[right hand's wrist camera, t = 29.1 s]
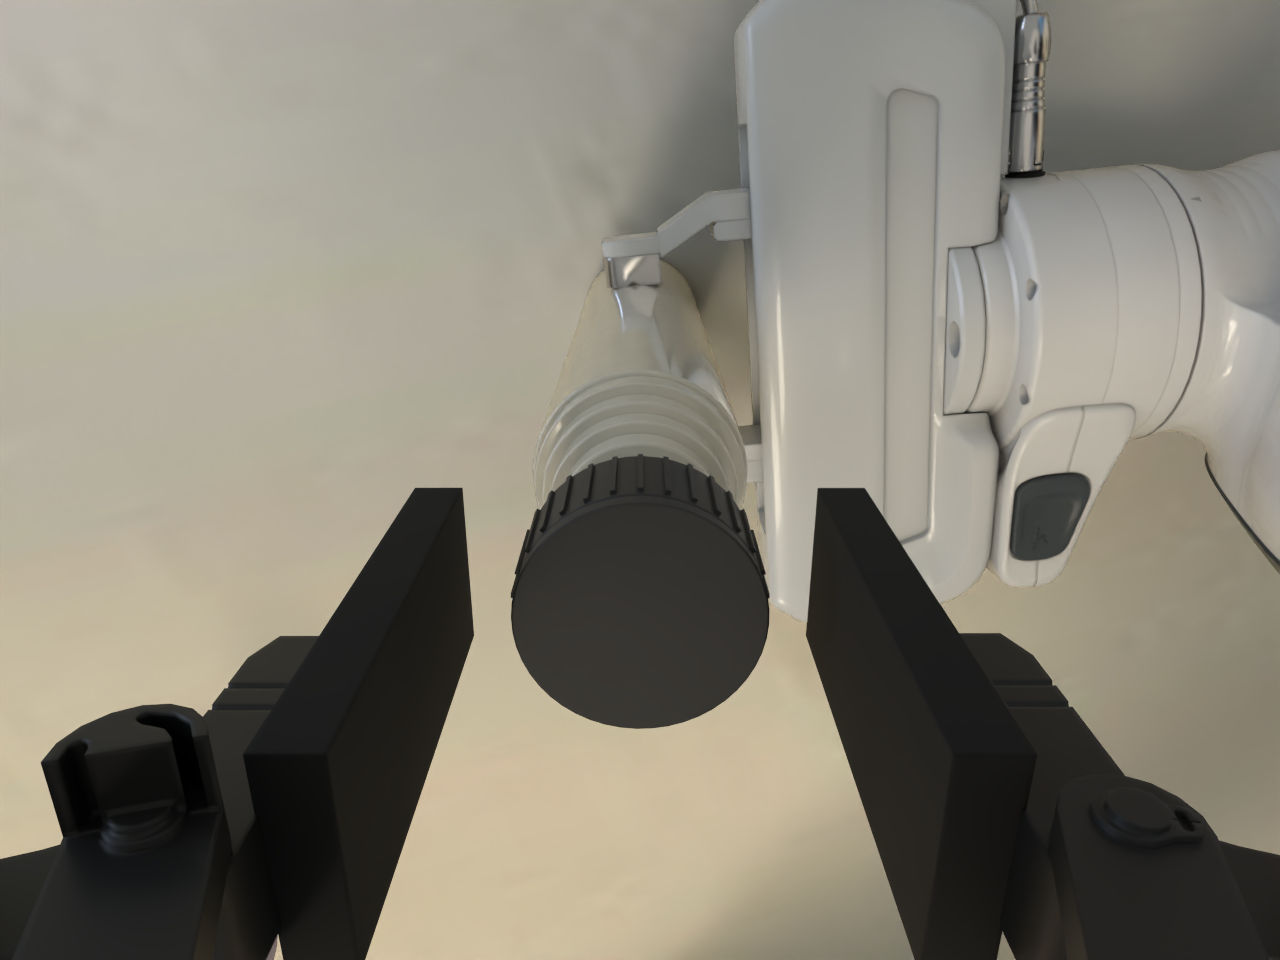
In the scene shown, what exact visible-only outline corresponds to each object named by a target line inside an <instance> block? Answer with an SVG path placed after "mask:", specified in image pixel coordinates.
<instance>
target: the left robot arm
mask: <svg viewBox="0 0 1280 960" xmlns="http://www.w3.org/2000/svg"><path fill="white" fill-rule="evenodd" d="M1020 2H1021V5H1022V10H1023V15H1021V16H1017V17H1016V9H1017V0H760V1H759V2H758V3H757V4H756V5H755V6H754V7H753V8H752V9H751V10H750V11H749V13H748V14H747V15H746V17H745V18H744V19H743V21H742V22H741V24H740V25H739V27H738V29H737V31H736V33H735V37H734V55H735V75H736V96H737V116H738V136H739V156H740V177H741V188H739V189H729V190H720V191H710V192H705V193H704V194H702V195H701V196H700V197H698V198H697V199H696V200H694V201H693V202H692V203H690V204H689V205H687V206H686V207H685V208H683V209H682V210H681V211H679V212H678V213H677V214H675V215H674V216H673V217H671V218H670V219H668V220H667V221H666V222H664V223H663V224H662V225H660V226H659V227H658V228H657V232H649V233H638V234H628V235H618V236H612V237H607V238H603V240H602V249H603V260H604V268H605V276H606V284H607V288H623V287H628V286H629V285H630V284H631V283H633V282H635V283H637V284H638V285H645V286H647V285H657V284H661V269H660V257H661V258H662V257H664V256H665V255H667V254H668V253H669V252H671V251H672V250H674V249H675V248H677V247H678V246H679V245H681V244H682V243H684V242H685V241H686V240H688V239H689V238H691V237H692V236H694V235H695V234H696V233H698V232H699V231H701V230H702V229H703V228H705V227H706V226H708V225H709V231H710V233H711V234H712V235H713V237H714V238H715V239H716V240H717V241H728V240H741V239H744V258H745V278H746V298H747V318H748V339H749V359H750V379H751V399H752V420H753V425H748V426H738V428H739V431H740V434H741V437H742V440H743V443H744V447H745V451H746V458H747V482H746V483H755V482H756V501H757V521H758V541H759V552H760V555H761V559H762V562H763V565H764V569H765V572H766V575H764V576H765V580H766V583H767V587H768V590H769V594H770V598H768V599H769V601H770V603H771V605H772V606H773V607H775V608H776V609H778V610H779V611H781V612H783V613H784V614H786V615H788V616H790V617H792V618H793V619H795V620H798V621H801V622H807V617H808V604H809V592H810V579H811V566H812V553H813V541H814V528H815V515H816V502H817V490H818V488H865V489H866V491H867V492H868V494H869V495H870V497H871V498H872V500H873V501H874V503H875V504H876V506H877V508H878V509H879V511H880V512H881V514H882V515H883V517H884V518H885V520H886V521H887V523H888V525H889V526H890V528H891V529H892V531H893V532H894V534H895V535H896V537H897V538H898V540H899V542H900V543H901V545H902V546H903V548H904V549H905V551H906V552H907V554H908V555H909V557H910V558H911V560H912V562H913V563H914V565H915V566H916V568H917V569H918V571H919V572H920V574H921V575H922V577H923V579H924V580H925V582H926V583H927V585H928V586H929V588H930V589H931V591H932V592H933V594H934V596H935V597H936V599H937V600H938V602H939V603H940V604H942V603H945V602H948V601H950V600H952V599H955V598H956V597H958V596H960V595H962V594H963V593H965V592H966V591H968V590H969V589H970V588H971V587H972V586H973V585H974V584H975V583H976V582H977V581H978V580H979V579H980V577H981V576H982V574H983V572H984V571H985V568H987V569H988V570H989V571H990V572H991V573H993V574H994V575H995V576H996V577H997V578H998V579H999V580H1000V581H1002V582H1003V583H1004V584H1006V585H1008V586H1011V587H1021V588H1026V587H1038V586H1043V585H1046V584H1049V583H1051V582H1053V581H1054V580H1055V579H1056V578H1057V577H1058V576H1059V575H1060V574H1061V573H1062V571H1063V569H1064V568H1065V566H1066V564H1067V562H1068V560H1069V558H1070V555H1071V553H1072V551H1073V548H1074V546H1075V544H1076V541H1077V539H1078V537H1079V535H1080V532H1081V530H1082V528H1083V526H1084V523H1085V521H1086V519H1087V517H1088V515H1089V513H1090V511H1091V508H1092V506H1093V504H1094V502H1095V500H1096V498H1097V496H1098V494H1099V492H1100V490H1101V488H1102V486H1103V484H1104V482H1105V480H1106V478H1107V477H1108V475H1109V473H1110V471H1111V469H1112V467H1113V466H1114V464H1115V462H1116V461H1117V459H1118V457H1119V456H1120V454H1121V452H1122V451H1123V449H1124V447H1125V445H1126V444H1127V442H1128V440H1129V439H1138V438H1142V437H1146V436H1149V435H1154V434H1158V433H1163V432H1179V433H1183V434H1186V435H1189V436H1191V437H1193V438H1195V439H1196V440H1198V441H1199V442H1200V443H1201V444H1202V445H1203V446H1204V448H1205V449H1206V451H1207V453H1206V455H1205V465H1206V468H1207V471H1208V473H1209V475H1210V477H1211V479H1212V481H1213V482H1214V484H1215V486H1216V487H1217V489H1218V490H1219V492H1220V493H1221V495H1222V497H1223V498H1224V500H1225V501H1226V503H1227V504H1228V506H1229V507H1230V509H1231V510H1232V512H1233V513H1234V515H1235V516H1236V518H1237V519H1238V520H1239V522H1240V523H1241V524H1242V526H1243V527H1244V529H1245V530H1246V531H1247V533H1248V534H1249V536H1250V537H1251V538H1252V540H1253V541H1254V542H1255V544H1256V545H1257V546H1258V547H1259V549H1260V550H1261V551H1262V553H1263V554H1264V555H1265V557H1266V558H1267V559H1268V560H1269V562H1270V563H1271V564H1272V565H1273V567H1274V568H1275V569H1276V570H1277V571H1278V573H1279V574H1280V150H1276V151H1269V152H1264V153H1260V154H1256V155H1252V156H1249V157H1246V158H1243V159H1241V160H1238V161H1236V162H1233V163H1231V164H1228V165H1226V166H1223V167H1220V168H1216V169H1212V170H1202V171H1189V170H1183V169H1177V168H1173V167H1169V166H1165V165H1158V164H1131V165H1122V166H1112V167H1103V168H1092V169H1082V170H1072V171H1062V172H1048V173H1045V172H1042V170H1043V167H1042V166H1043V155H1044V135H1045V109H1044V107H1045V100H1044V99H1043V98H1044V90H1043V87H1044V84H1045V80H1043V78H1044V77H1045V67H1046V62H1047V61H1048V60H1049V55H1050V46H1051V27H1050V20H1049V15H1048V13H1038V4H1037V1H1036V0H1020ZM1004 174H1006V175H1005V177H1004V178H1001V175H1004Z"/></svg>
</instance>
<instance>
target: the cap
mask: <svg viewBox="0 0 1280 960" xmlns="http://www.w3.org/2000/svg"><path fill="white" fill-rule="evenodd" d="M515 574H516V578H515V581H514V585H513V588H512V592H511V598H513V600H512V610H511V621H512V631H513V636H514V640H515V644H516V647H517V650H518V652H519V654H520V657H521V659H522V661H523V663H524V665H525V666H526V668H527V670H528V671H529V673H530V675H531V676H532V677H533V678H534V680H535V681H536V682H537V684H538V685H539V686H540V687H541V688H542V689H543V690H544V691H545V692H546V693H547V694H548V695H549V696H550V697H552V698H553V699H554V700H556V701H557V702H558V703H560V704H561V705H562V706H564V707H566V708H567V709H569V710H571V711H572V712H574V713H576V714H578V715H580V716H583V717H585V718H587V719H590V720H593V721H596V722H599V723H602V724H606V725H611V726H616V727H623V728H636V729H639V728H657V727H664V726H670V725H674V724H678V723H682V722H685V721H688V720H690V719H693V718H696V717H698V716H700V715H702V714H704V713H706V712H708V711H710V710H712V709H713V708H715V707H716V706H718V705H719V704H721V703H722V702H724V701H725V700H726V699H728V698H729V697H730V696H731V695H732V694H733V693H734V692H736V691H737V690H738V688H739V687H740V686H741V685H742V684H743V683H744V682H745V681H746V679H747V678H748V677H749V675H750V674H751V672H752V671H753V669H754V668H755V666H756V664H757V662H758V660H759V658H760V656H761V654H762V651H763V648H764V645H765V642H766V639H767V633H768V627H769V604H768V598H770V594H769V590H768V587H767V583H766V580H765V576H764V575H766V572H765V569H764V565H763V562H762V559H761V555H760V552H759V548H758V545H757V541H756V538H755V534H754V531H753V530H750V527H749V523H748V519H747V516H746V513H745V511H744V509H742V510H740V509H739V508H738V506H737V504H736V503H735V501H734V499H733V496H732V493H731V492H730V491H727V492H726V491H725V490H724V489H723V488H722V487H721V486H720V485H719V484H717V483H716V482H715V479H714V477H713V476H711V475H709V477H708V476H707V475H705V474H704V473H702V472H700V471H698V470H696V469H694V468H693V465H691V464H689V463H688V464H687V465H685V464H682V463H679V462H676V461H673V460H669V457H666V456H663V458H659V457H649V456H643V454H638V456H631V457H622V458H618V457H617V456H615V457H612V459H611V460H608V461H604V462H601V463H598V464H595V465H594V464H593V463H591V464H589V465H588V468H586V469H584V470H582V471H581V472H579V473H577V474H576V475H574V476H571V475H569V476H568V477H567V478H566V482H564V483H563V484H562V485H561V486H559V487H558V488H557V490H556V491H555V492H554V491H552V490H551V491H550V492H549V494H548V498H547V501H546V502H545V504H544V505H543V506H542V508H541V510H539V509H537V510H536V512H535V514H534V518H533V521H532V525H531V529H530V530H527V533H526V536H525V540H524V543H523V547H522V550H521V553H520V557H519V560H518V564H517V567H516V571H515Z"/></svg>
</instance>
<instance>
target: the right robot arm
mask: <svg viewBox="0 0 1280 960" xmlns="http://www.w3.org/2000/svg"><path fill="white" fill-rule="evenodd" d="M473 637H474V630H473V617H472V604H471V592H470V579H469V566H468V553H467V541H466V528H465V515H464V502H463V490H462V488H415V489H414V491H413V492H412V494H411V495H410V497H409V498H408V500H407V501H406V503H405V504H404V506H403V508H402V509H401V511H400V512H399V514H398V515H397V517H396V518H395V520H394V521H393V523H392V525H391V526H390V528H389V529H388V531H387V532H386V534H385V535H384V537H383V538H382V540H381V542H380V543H379V545H378V546H377V548H376V549H375V551H374V552H373V554H372V555H371V557H370V558H369V560H368V562H367V563H366V565H365V566H364V568H363V569H362V571H361V572H360V574H359V575H358V577H357V579H356V580H355V582H354V583H353V585H352V586H351V588H350V589H349V591H348V592H347V594H346V596H345V597H344V599H343V600H342V602H341V603H340V605H339V606H338V608H337V609H336V611H335V613H334V614H333V616H332V617H331V619H330V620H329V622H328V623H327V625H326V626H325V628H324V630H323V631H322V633H321V634H320V636H280V637H278V638H277V639H275V640H274V641H272V642H271V643H269V644H268V645H266V646H265V647H263V648H262V649H260V650H259V651H257V652H256V653H254V654H253V655H251V656H250V657H248V658H247V660H246V661H245V662H244V664H243V665H242V666H241V668H240V669H239V670H238V671H237V673H236V674H235V675H234V677H233V678H232V679H231V681H230V682H229V683H228V684H229V686H228V688H225V689H224V690H223V691H222V693H221V694H220V695H219V697H218V698H217V699H216V700H215V702H214V703H213V704H212V710H208V711H207V712H206V714H205V715H204V716H203V717H202V716H201V715H200V714H198V713H197V712H196V711H195V710H194V709H192V708H187V707H183V706H178V705H173V704H159V705H142V706H138V707H134V708H130V709H126V710H122V711H118V712H114V713H110V714H108V715H106V716H104V717H101V718H99V719H97V720H94V721H92V722H90V723H88V724H85V725H83V726H81V727H79V728H78V729H77V730H75V731H74V732H72V733H71V734H69V735H68V736H66V737H65V738H64V739H62V740H61V741H59V742H58V743H56V744H55V746H54V747H53V748H52V749H51V751H50V752H49V753H48V754H47V755H46V757H45V758H44V759H43V760H42V762H41V765H42V768H43V771H44V775H45V778H46V781H47V785H48V788H49V791H50V795H51V798H52V801H53V805H54V808H55V811H56V815H57V818H58V821H59V825H60V828H61V831H62V835H63V840H62V842H61V844H60V845H57V846H54V847H50V848H47V849H43V850H39V851H35V852H30V853H26V854H21V855H17V856H12V857H8V858H3V859H0V960H266V959H267V957H268V955H269V953H270V950H271V948H272V946H273V944H274V942H275V939H276V937H277V935H278V934H279V939H280V945H281V950H282V955H283V960H365V958H366V955H367V952H368V949H369V946H370V943H371V940H372V937H373V935H374V932H375V929H376V926H377V923H378V920H379V917H380V914H381V911H382V908H383V905H384V902H385V899H386V896H387V893H388V890H389V887H390V884H391V881H392V878H393V875H394V872H395V869H396V866H397V863H398V860H399V857H400V854H401V851H402V848H403V845H404V842H405V839H406V836H407V833H408V830H409V827H410V824H411V821H412V818H413V815H414V812H415V809H416V806H417V803H418V800H419V798H420V795H421V792H422V789H423V786H424V783H425V780H426V777H427V774H428V771H429V768H430V765H431V762H432V759H433V756H434V753H435V750H436V747H437V744H438V741H439V738H440V735H441V732H442V729H443V726H444V723H445V720H446V717H447V714H448V711H449V708H450V705H451V702H452V699H453V696H454V693H455V690H456V687H457V684H458V681H459V678H460V675H461V672H462V669H463V666H464V663H465V661H466V658H467V655H468V652H469V649H470V646H471V643H472V640H473ZM806 637H807V640H808V643H809V646H810V649H811V652H812V655H813V658H814V661H815V664H816V666H817V669H818V672H819V675H820V678H821V681H822V684H823V687H824V690H825V693H826V696H827V699H828V702H829V705H830V708H831V711H832V714H833V717H834V720H835V723H836V726H837V729H838V732H839V735H840V738H841V741H842V744H843V747H844V750H845V753H846V756H847V759H848V762H849V765H850V768H851V771H852V774H853V777H854V780H855V783H856V786H857V789H858V792H859V795H860V798H861V801H862V803H863V806H864V809H865V812H866V815H867V818H868V821H869V824H870V827H871V830H872V833H873V836H874V839H875V842H876V845H877V848H878V851H879V854H880V857H881V860H882V863H883V866H884V869H885V872H886V875H887V878H888V881H889V884H890V887H891V890H892V893H893V896H894V899H895V902H896V905H897V908H898V911H899V914H900V917H901V920H902V923H903V926H904V929H905V932H906V935H907V938H908V940H909V943H910V946H911V949H912V952H913V955H914V958H915V960H997V955H998V949H999V944H1000V939H1001V934H1002V931H1003V933H1004V935H1005V937H1006V939H1007V942H1008V944H1009V946H1010V948H1011V950H1012V952H1013V955H1014V957H1015V959H1016V960H1280V855H1276V854H1272V853H1267V852H1263V851H1258V850H1254V849H1249V848H1244V847H1240V846H1236V845H1233V844H1229V843H1226V842H1222V841H1219V840H1218V838H1217V836H1216V834H1215V833H1214V832H1213V830H1212V829H1211V827H1210V826H1209V825H1208V823H1207V822H1206V820H1205V819H1204V817H1203V816H1202V815H1201V814H1199V813H1198V812H1197V811H1196V810H1194V809H1193V808H1192V807H1191V806H1189V805H1188V804H1187V803H1185V802H1184V801H1183V800H1182V799H1180V798H1179V797H1177V796H1175V795H1173V794H1171V793H1169V792H1167V791H1165V790H1163V789H1161V788H1159V787H1157V786H1155V785H1153V784H1151V783H1148V782H1144V781H1141V780H1137V779H1134V778H1130V777H1127V776H1125V775H1124V774H1123V773H1122V771H1121V770H1120V769H1119V767H1118V766H1117V765H1116V763H1115V762H1114V761H1113V759H1112V758H1111V757H1110V756H1109V754H1108V753H1107V752H1106V750H1105V749H1104V748H1103V746H1102V745H1101V744H1100V742H1099V741H1098V740H1097V739H1096V737H1095V736H1094V735H1093V733H1092V732H1091V731H1090V729H1089V728H1088V727H1087V725H1086V724H1085V723H1084V722H1083V720H1082V719H1081V718H1080V716H1079V715H1078V714H1077V712H1076V711H1075V710H1074V708H1073V707H1069V706H1068V701H1067V699H1066V698H1065V697H1064V695H1063V694H1062V693H1061V691H1060V690H1059V689H1058V687H1057V686H1056V685H1052V680H1051V678H1050V677H1049V676H1048V674H1047V673H1046V672H1045V670H1044V669H1043V668H1042V667H1041V665H1040V664H1039V663H1038V661H1037V660H1036V659H1035V657H1034V656H1033V655H1032V654H1030V653H1029V652H1027V651H1026V650H1024V649H1023V648H1021V647H1020V646H1018V645H1017V644H1015V643H1014V642H1012V641H1011V640H1009V639H1008V638H1006V637H1005V636H1003V635H1002V634H1000V633H958V631H957V630H956V628H955V626H954V625H953V623H952V622H951V620H950V619H949V617H948V616H947V614H946V613H945V611H944V609H943V608H942V606H941V605H940V603H939V602H938V600H937V599H936V597H935V596H934V594H933V592H932V591H931V589H930V588H929V586H928V585H927V583H926V582H925V580H924V579H923V577H922V575H921V574H920V572H919V571H918V569H917V568H916V566H915V565H914V563H913V562H912V560H911V558H910V557H909V555H908V554H907V552H906V551H905V549H904V548H903V546H902V545H901V543H900V542H899V540H898V538H897V537H896V535H895V534H894V532H893V531H892V529H891V528H890V526H889V525H888V523H887V521H886V520H885V518H884V517H883V515H882V514H881V512H880V511H879V509H878V508H877V506H876V504H875V503H874V501H873V500H872V498H871V497H870V495H869V494H868V492H867V491H866V489H865V488H818V490H817V502H816V515H815V528H814V541H813V553H812V566H811V579H810V592H809V604H808V617H807V630H806Z"/></svg>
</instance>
